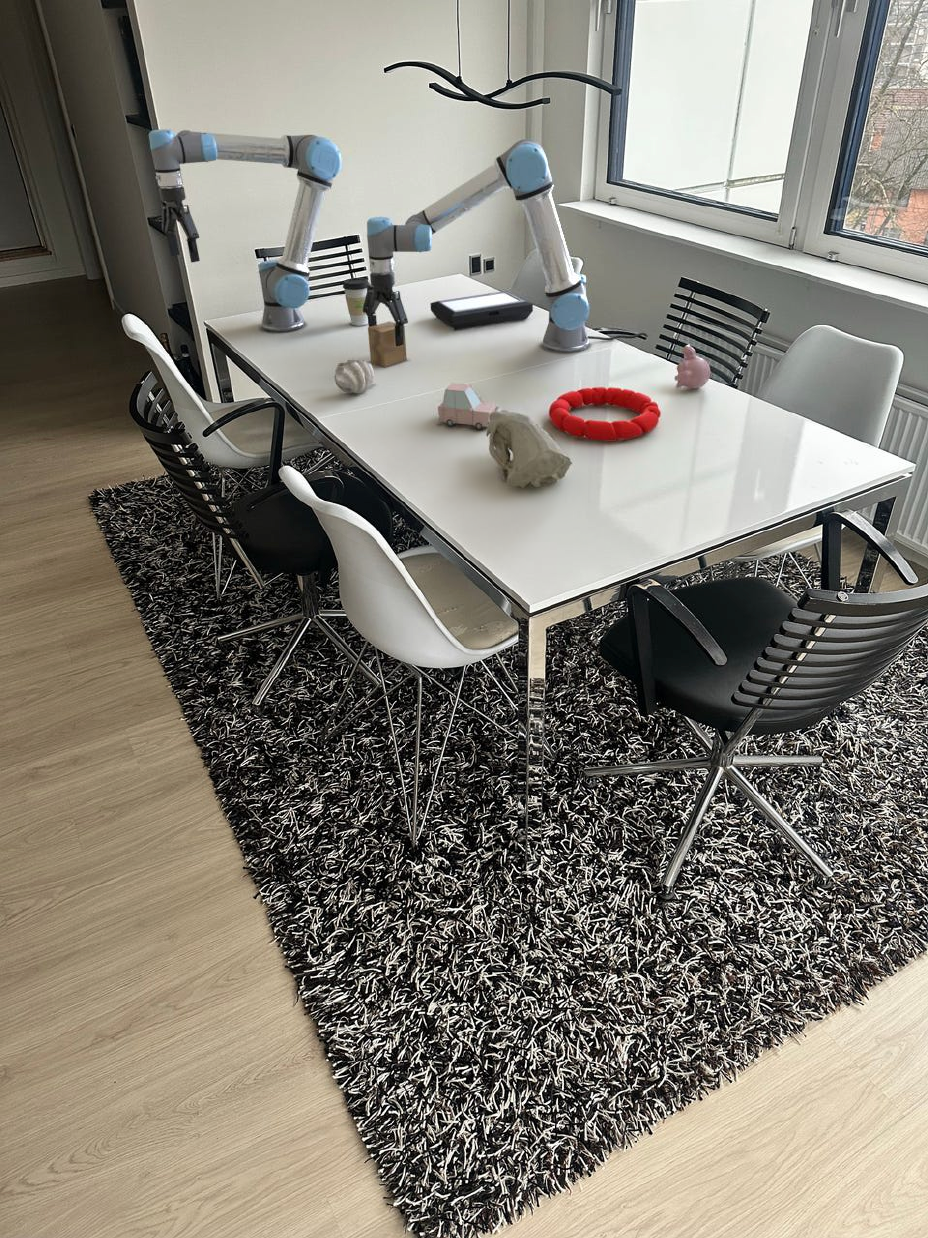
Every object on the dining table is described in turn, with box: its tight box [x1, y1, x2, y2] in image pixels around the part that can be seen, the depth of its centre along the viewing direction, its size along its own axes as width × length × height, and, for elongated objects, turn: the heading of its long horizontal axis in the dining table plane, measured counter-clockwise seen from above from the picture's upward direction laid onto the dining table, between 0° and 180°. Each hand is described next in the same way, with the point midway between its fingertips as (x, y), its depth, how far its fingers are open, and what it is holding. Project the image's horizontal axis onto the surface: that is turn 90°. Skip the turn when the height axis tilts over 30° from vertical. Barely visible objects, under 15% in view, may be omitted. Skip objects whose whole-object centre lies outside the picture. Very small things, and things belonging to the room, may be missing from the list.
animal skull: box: [485, 409, 573, 489], centre depth 216 cm, size 17×25×20 cm
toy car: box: [437, 382, 499, 431], centre depth 243 cm, size 9×15×10 cm, turn 70°
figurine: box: [674, 344, 711, 390], centre depth 259 cm, size 9×11×12 cm
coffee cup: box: [342, 277, 371, 327], centre depth 323 cm, size 10×10×15 cm
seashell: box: [333, 359, 375, 394], centre depth 265 cm, size 10×15×10 cm
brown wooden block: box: [367, 321, 408, 368], centre depth 288 cm, size 8×9×11 cm
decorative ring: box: [548, 386, 661, 442], centre depth 242 cm, size 7×30×30 cm
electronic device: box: [430, 290, 534, 331], centre depth 325 cm, size 32×6×20 cm
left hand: (185, 258), depth 289 cm, fingers open, 13 cm apart
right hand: (386, 340), depth 287 cm, fingers open, 13 cm apart
